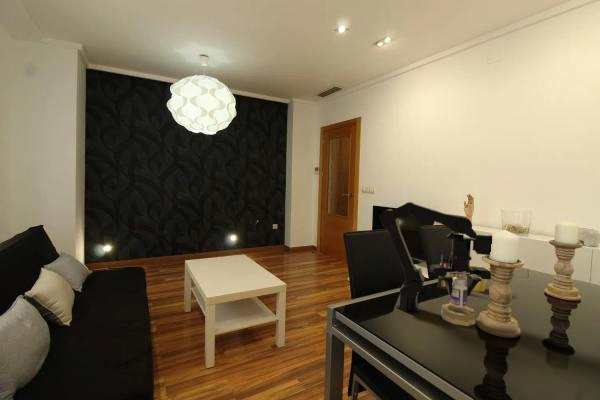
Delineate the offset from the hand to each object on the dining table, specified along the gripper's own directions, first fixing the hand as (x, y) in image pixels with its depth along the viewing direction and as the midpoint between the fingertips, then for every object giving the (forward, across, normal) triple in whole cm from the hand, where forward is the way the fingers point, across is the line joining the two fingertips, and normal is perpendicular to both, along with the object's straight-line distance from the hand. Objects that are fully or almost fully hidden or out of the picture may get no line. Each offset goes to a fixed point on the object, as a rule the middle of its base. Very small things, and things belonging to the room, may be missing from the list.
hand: (458, 295), depth 106 cm
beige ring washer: (+8, 0, 0) cm, 8 cm away
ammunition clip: (+9, -9, -32) cm, 34 cm away
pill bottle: (+4, 0, 0) cm, 4 cm away
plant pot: (+9, -22, -35) cm, 42 cm away
